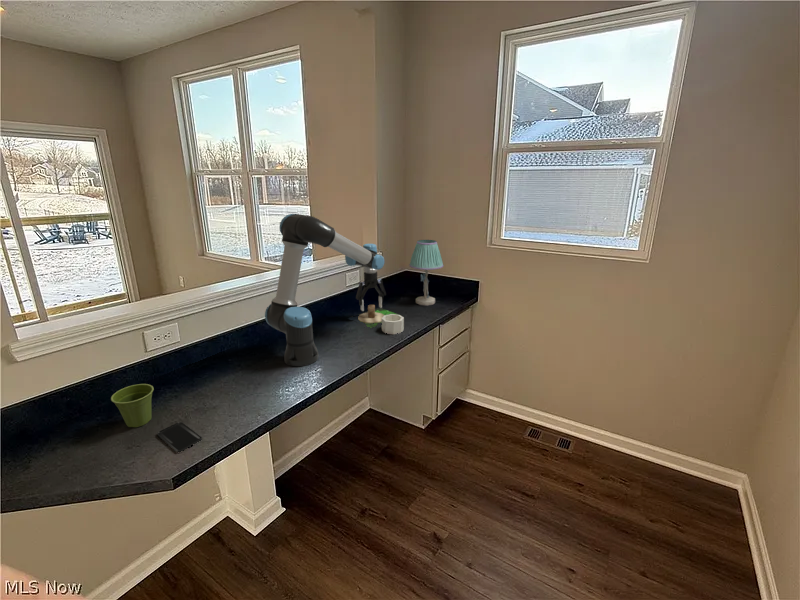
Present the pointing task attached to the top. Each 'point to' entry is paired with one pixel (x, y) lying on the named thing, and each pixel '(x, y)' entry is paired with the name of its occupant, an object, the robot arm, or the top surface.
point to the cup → (392, 324)
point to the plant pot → (134, 404)
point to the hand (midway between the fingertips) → (371, 308)
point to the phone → (179, 436)
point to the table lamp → (426, 265)
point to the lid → (371, 316)
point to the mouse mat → (379, 310)
